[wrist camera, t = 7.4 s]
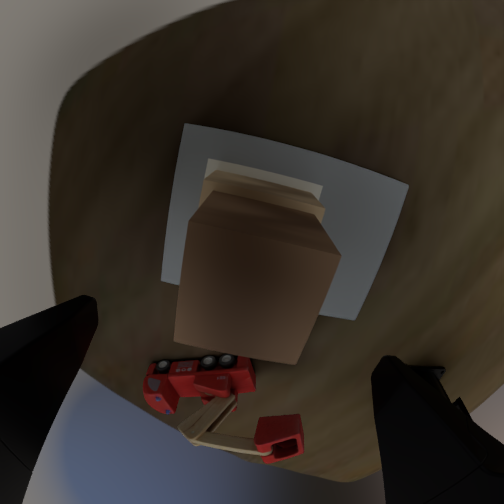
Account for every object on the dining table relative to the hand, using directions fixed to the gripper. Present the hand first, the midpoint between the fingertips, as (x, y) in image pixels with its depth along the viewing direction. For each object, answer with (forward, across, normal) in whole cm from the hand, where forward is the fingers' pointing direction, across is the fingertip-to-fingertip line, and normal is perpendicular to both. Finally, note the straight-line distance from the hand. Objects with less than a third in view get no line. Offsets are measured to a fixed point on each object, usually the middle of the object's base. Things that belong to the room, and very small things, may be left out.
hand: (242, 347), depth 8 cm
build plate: (+12, -2, 0) cm, 12 cm away
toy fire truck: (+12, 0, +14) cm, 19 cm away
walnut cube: (+7, 0, 0) cm, 7 cm away
